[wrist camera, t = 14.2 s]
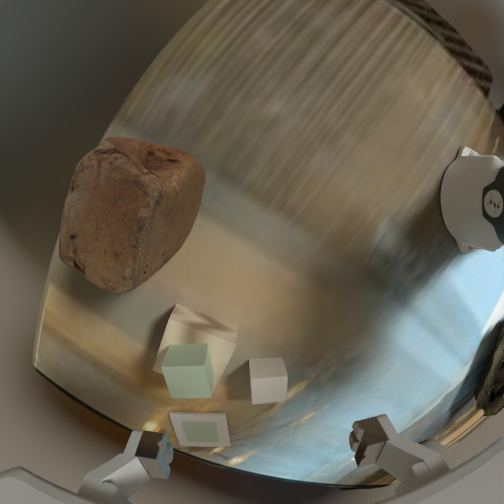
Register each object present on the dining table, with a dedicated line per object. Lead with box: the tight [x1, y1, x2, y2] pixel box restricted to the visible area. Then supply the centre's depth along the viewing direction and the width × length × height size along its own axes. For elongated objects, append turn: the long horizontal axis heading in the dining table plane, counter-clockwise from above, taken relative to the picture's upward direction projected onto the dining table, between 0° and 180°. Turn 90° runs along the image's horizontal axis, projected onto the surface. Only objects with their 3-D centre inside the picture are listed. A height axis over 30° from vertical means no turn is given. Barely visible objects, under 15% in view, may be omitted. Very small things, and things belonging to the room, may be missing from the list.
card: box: [169, 412, 231, 447], centre depth 41 cm, size 10×10×1 cm
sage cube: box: [161, 343, 214, 399], centre depth 30 cm, size 5×5×5 cm
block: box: [59, 137, 205, 294], centre depth 23 cm, size 11×8×20 cm
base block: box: [152, 304, 237, 392], centre depth 35 cm, size 9×9×5 cm
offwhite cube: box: [249, 357, 288, 404], centre depth 37 cm, size 5×5×5 cm
